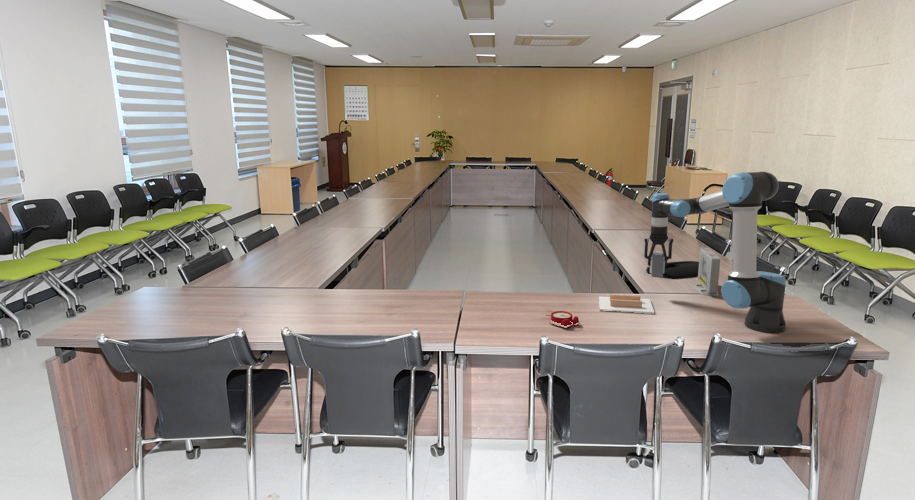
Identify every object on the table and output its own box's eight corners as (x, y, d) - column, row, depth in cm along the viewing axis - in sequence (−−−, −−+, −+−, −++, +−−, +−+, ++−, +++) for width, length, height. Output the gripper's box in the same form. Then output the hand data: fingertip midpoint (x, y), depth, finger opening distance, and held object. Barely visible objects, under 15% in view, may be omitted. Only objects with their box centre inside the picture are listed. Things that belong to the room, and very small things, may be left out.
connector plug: (662, 277, 263) (664, 253, 261) (651, 277, 265) (653, 253, 262) (661, 274, 268) (662, 251, 266) (650, 274, 269) (651, 250, 267)
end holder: (654, 314, 245) (654, 305, 244) (599, 311, 251) (599, 302, 250) (649, 300, 264) (650, 293, 263) (598, 298, 270) (599, 290, 269)
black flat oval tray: (724, 273, 312) (725, 265, 311) (668, 281, 298) (669, 272, 297) (692, 264, 335) (692, 256, 334) (638, 271, 321) (639, 263, 320)
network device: (721, 297, 267) (725, 258, 263) (703, 297, 269) (706, 257, 264) (709, 283, 291) (712, 247, 287) (691, 283, 293) (694, 247, 289)
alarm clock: (559, 309, 244) (584, 310, 231) (561, 323, 244) (586, 325, 231) (542, 314, 238) (567, 315, 226) (544, 328, 238) (569, 330, 226)
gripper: (678, 224, 263) (675, 271, 267) (639, 224, 267) (637, 270, 272) (680, 227, 256) (677, 275, 260) (640, 226, 260) (638, 273, 265)
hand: (656, 272), depth 266 cm, fingers closed on connector plug, 5 cm apart
